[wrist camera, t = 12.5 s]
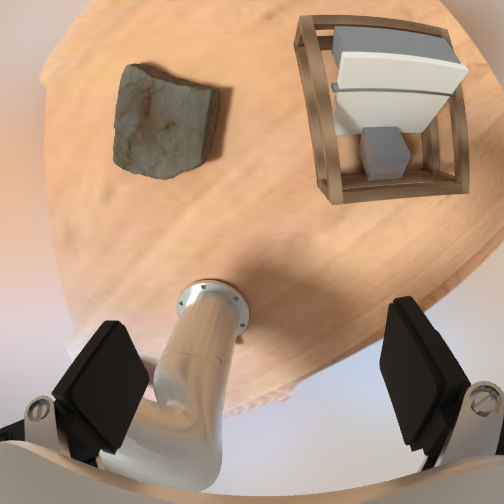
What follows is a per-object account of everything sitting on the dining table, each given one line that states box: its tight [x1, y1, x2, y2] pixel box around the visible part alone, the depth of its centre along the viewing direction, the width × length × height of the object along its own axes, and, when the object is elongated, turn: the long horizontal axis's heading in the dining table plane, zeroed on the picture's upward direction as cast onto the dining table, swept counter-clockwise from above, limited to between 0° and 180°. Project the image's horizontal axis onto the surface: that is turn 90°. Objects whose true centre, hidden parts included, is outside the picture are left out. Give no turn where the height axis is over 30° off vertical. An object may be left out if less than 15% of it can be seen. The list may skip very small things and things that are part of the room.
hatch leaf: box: [332, 26, 468, 136], centre depth 25 cm, size 15×15×5 cm
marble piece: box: [113, 64, 220, 180], centre depth 34 cm, size 17×15×4 cm
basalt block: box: [358, 127, 411, 181], centre depth 32 cm, size 5×5×5 cm
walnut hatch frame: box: [294, 15, 469, 205], centre depth 28 cm, size 21×18×10 cm
